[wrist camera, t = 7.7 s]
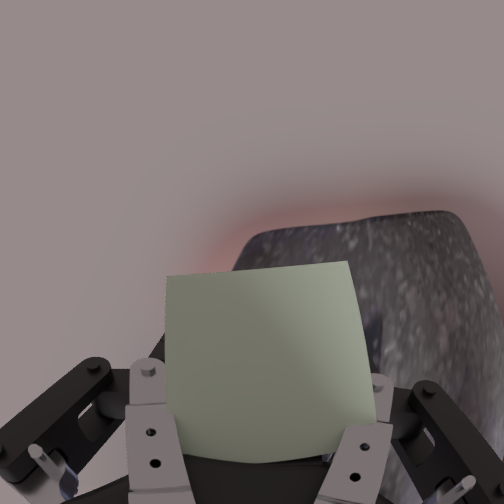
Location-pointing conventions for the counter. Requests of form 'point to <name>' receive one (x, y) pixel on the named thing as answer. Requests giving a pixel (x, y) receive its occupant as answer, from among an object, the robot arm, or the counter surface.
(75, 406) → the robot arm
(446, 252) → the counter surface
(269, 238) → the counter surface
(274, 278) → the sage block
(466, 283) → the counter surface
